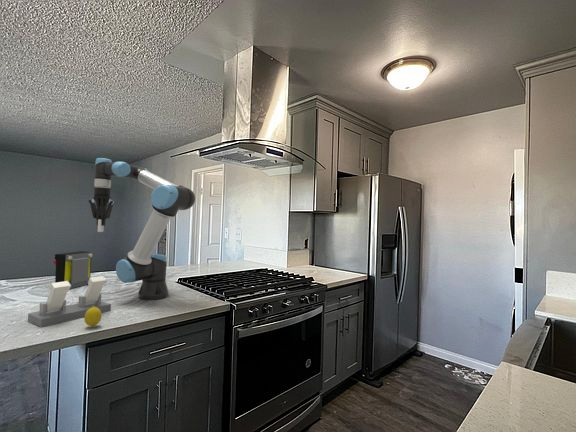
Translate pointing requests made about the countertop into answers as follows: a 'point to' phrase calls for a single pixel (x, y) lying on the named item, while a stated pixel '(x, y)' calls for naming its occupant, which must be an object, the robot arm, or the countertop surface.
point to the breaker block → (65, 312)
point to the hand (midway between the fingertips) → (100, 231)
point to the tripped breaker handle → (57, 295)
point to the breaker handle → (94, 289)
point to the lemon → (93, 316)
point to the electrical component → (73, 268)
